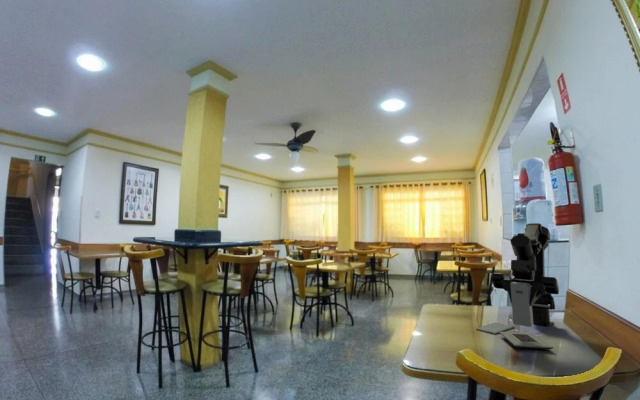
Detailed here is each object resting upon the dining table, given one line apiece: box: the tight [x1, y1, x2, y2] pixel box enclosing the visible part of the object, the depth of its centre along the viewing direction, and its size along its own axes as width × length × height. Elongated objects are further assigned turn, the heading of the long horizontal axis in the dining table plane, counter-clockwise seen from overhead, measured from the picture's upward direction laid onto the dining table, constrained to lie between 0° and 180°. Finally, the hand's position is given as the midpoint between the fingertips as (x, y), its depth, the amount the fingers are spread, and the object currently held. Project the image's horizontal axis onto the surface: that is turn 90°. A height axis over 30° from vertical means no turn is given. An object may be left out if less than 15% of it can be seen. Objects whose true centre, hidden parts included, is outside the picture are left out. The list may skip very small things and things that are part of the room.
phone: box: [475, 322, 515, 336], centre depth 116 cm, size 14×7×1 cm, turn 123°
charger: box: [510, 282, 534, 328], centre depth 101 cm, size 4×5×13 cm
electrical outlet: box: [499, 331, 554, 350], centre depth 100 cm, size 13×10×2 cm
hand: (520, 304), depth 100 cm, fingers closed on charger, 5 cm apart
